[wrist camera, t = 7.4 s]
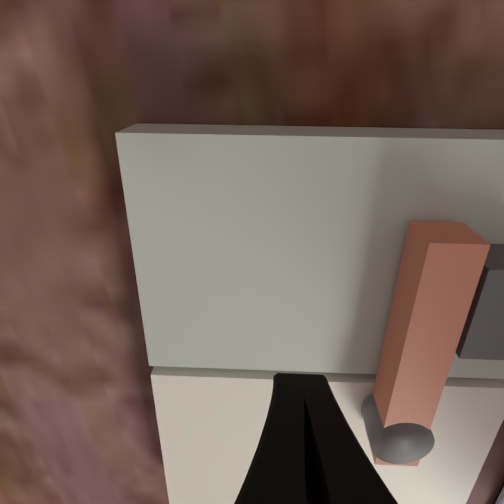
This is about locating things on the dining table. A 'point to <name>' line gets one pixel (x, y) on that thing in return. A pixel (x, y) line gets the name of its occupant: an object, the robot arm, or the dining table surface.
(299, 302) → the pale square platform
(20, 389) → the dining table surface
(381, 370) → the bar
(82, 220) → the dining table surface
